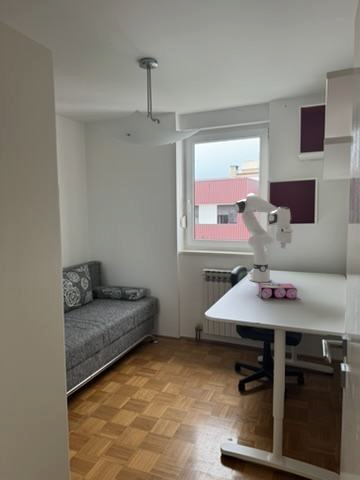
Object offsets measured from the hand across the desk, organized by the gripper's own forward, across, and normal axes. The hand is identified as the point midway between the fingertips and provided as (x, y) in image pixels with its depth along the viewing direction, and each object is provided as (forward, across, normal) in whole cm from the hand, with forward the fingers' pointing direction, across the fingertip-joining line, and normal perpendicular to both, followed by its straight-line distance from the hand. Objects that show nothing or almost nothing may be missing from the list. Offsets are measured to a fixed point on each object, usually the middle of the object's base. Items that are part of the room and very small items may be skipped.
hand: (283, 248), depth 238 cm
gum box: (+27, +12, -10) cm, 31 cm away
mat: (+31, +18, -10) cm, 37 cm away
